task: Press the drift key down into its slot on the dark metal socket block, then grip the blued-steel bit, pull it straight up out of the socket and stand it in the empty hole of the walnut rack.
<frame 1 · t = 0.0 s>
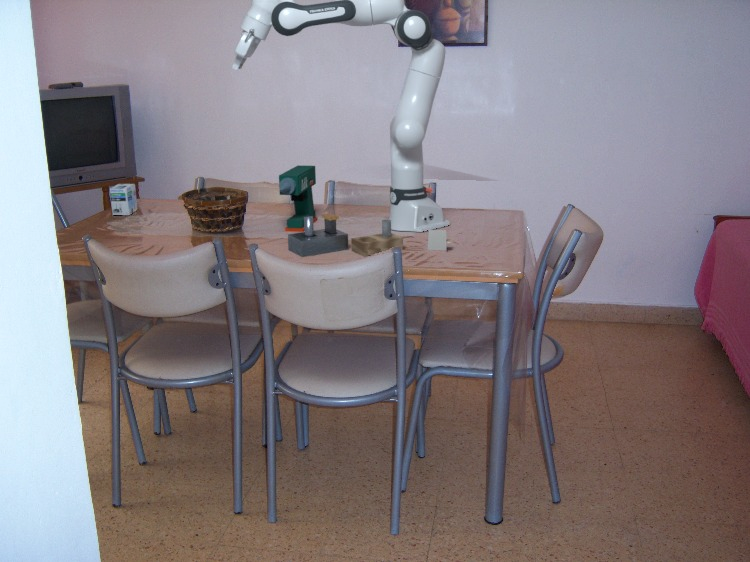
hand: (236, 68, 256), 54 cm above the table, tool tilted 30°, fingers open, 8 cm apart
bit: (309, 251, 245), resting in socket block
light bulb box: (125, 214, 302), on the table
pale grey square block: (437, 253, 244), on the table
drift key: (330, 227, 247), point 7 cm above the table, slide at 0.0 cm
socket block: (318, 249, 247), on the table
rack: (377, 250, 245), on the table
power tool: (297, 230, 273), on the table
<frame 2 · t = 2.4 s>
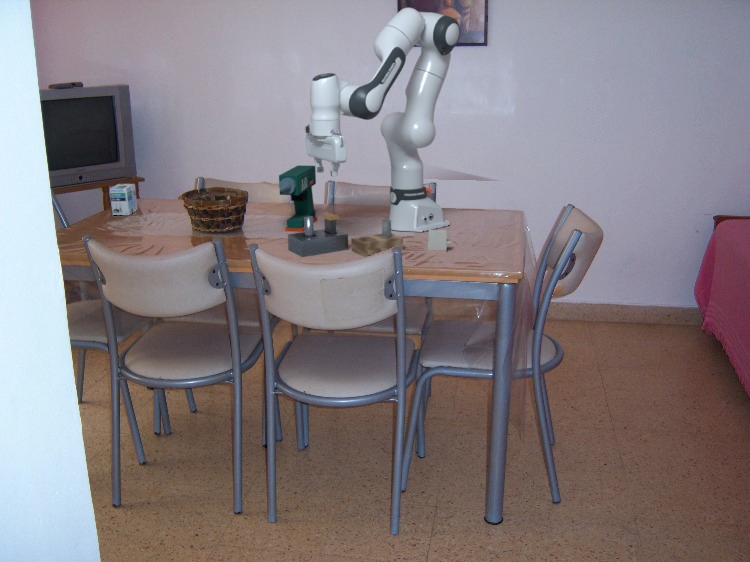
hand: (327, 174, 242), 23 cm above the table, tool pointing down, fingers open, 8 cm apart
nothing on the table moved.
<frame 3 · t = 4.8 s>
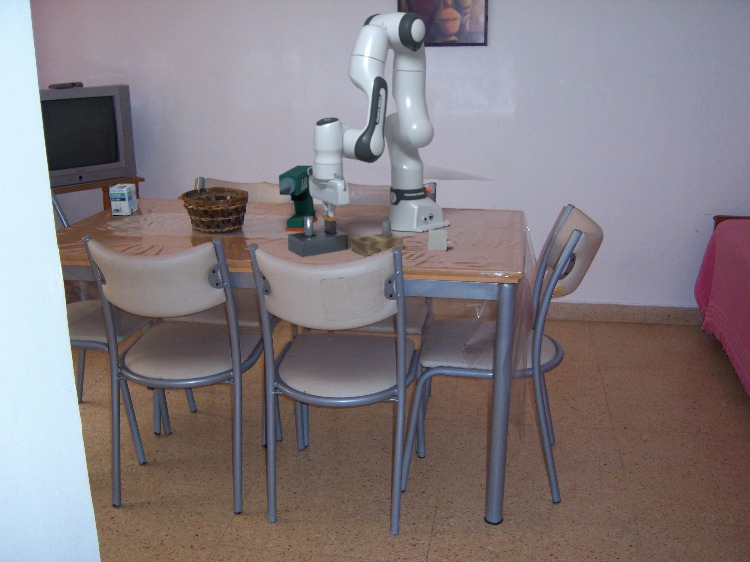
hand: (329, 215, 246), 10 cm above the table, tool pointing down, fingers closed, pressing on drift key
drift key: (330, 228, 247), point 6 cm above the table, slide at 0.2 cm, touching gripper
everything else where it was.
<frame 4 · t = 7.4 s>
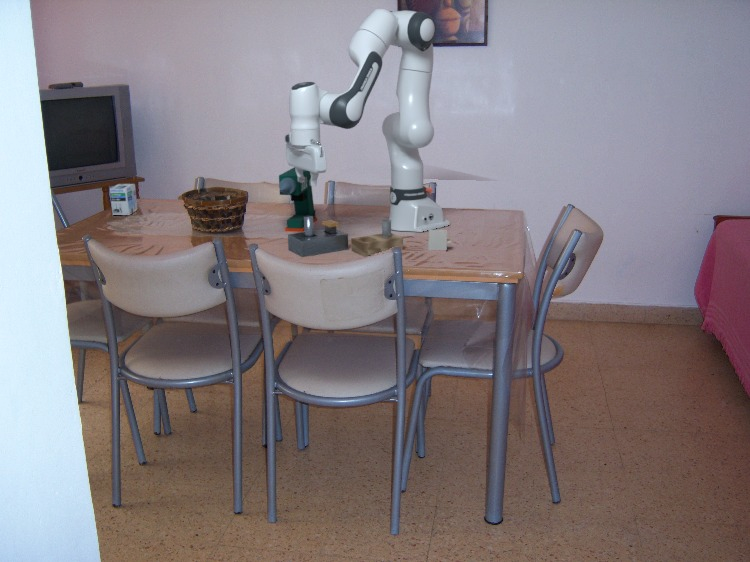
hand: (307, 184, 239), 21 cm above the table, tool pointing down, fingers open, 7 cm apart
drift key: (330, 234, 248), point 4 cm above the table, slide at 2.2 cm
everything else where it was.
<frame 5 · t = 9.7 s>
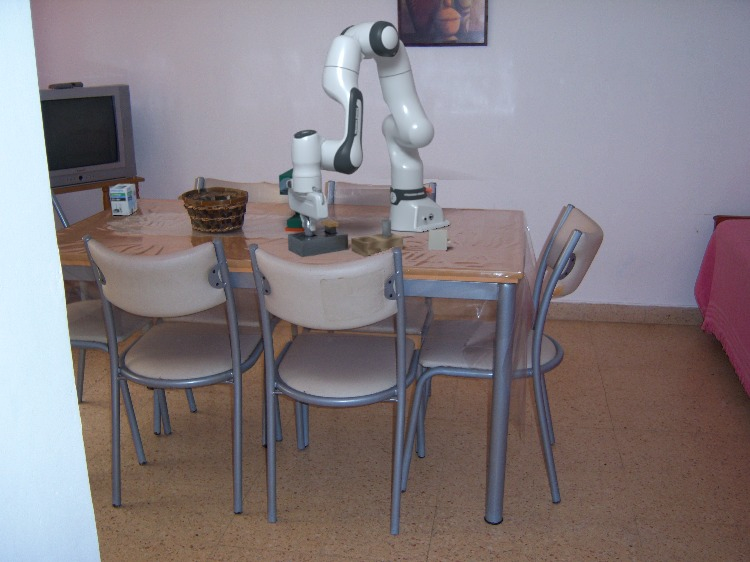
hand: (309, 228, 243), 7 cm above the table, tool pointing down, fingers closed on bit, 3 cm apart
bit: (309, 251, 245), resting in socket block, touching gripper
everything else where it was.
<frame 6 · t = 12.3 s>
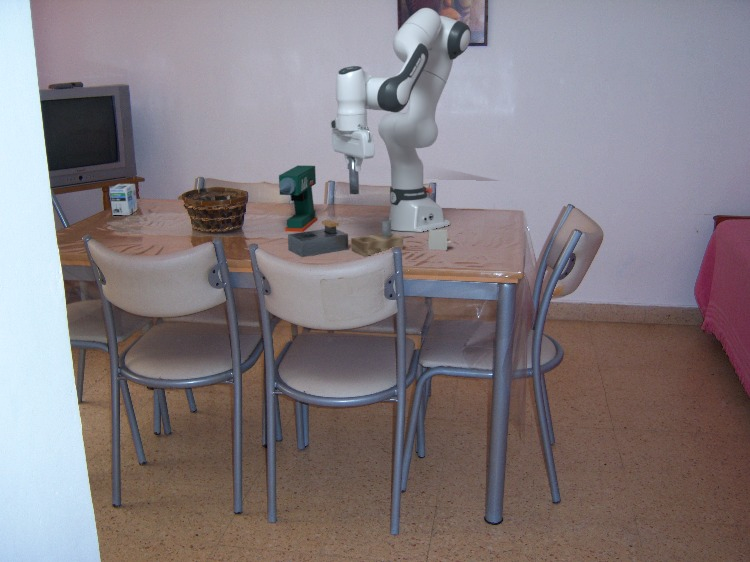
hand: (354, 170, 236), 25 cm above the table, tool pointing down, fingers closed on bit, 3 cm apart
bit: (354, 193, 239), point 18 cm above the table, touching gripper
everything else where it was.
when the fingers open (9 cm above the table, at t = 15.0 s): bit drops 2 cm, resting in rack.
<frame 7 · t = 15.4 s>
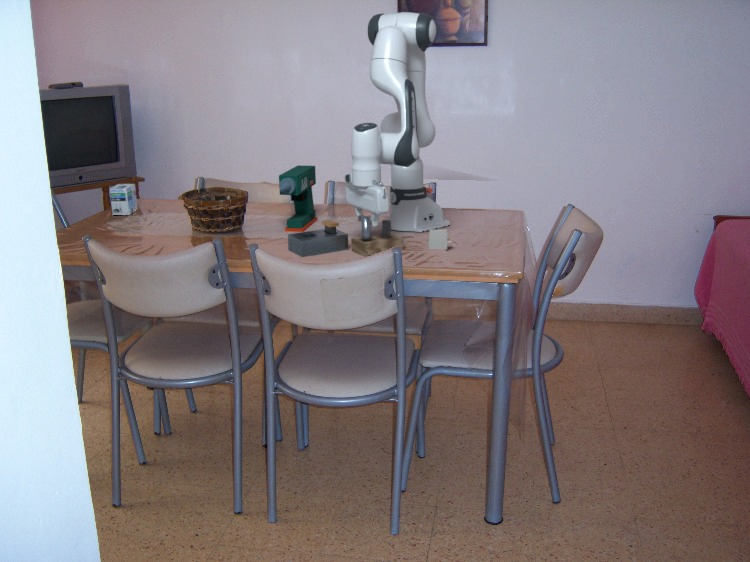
hand: (367, 223, 241), 9 cm above the table, tool pointing down, fingers open, 7 cm apart
bit: (367, 251, 243), resting in rack
everything else where it was.
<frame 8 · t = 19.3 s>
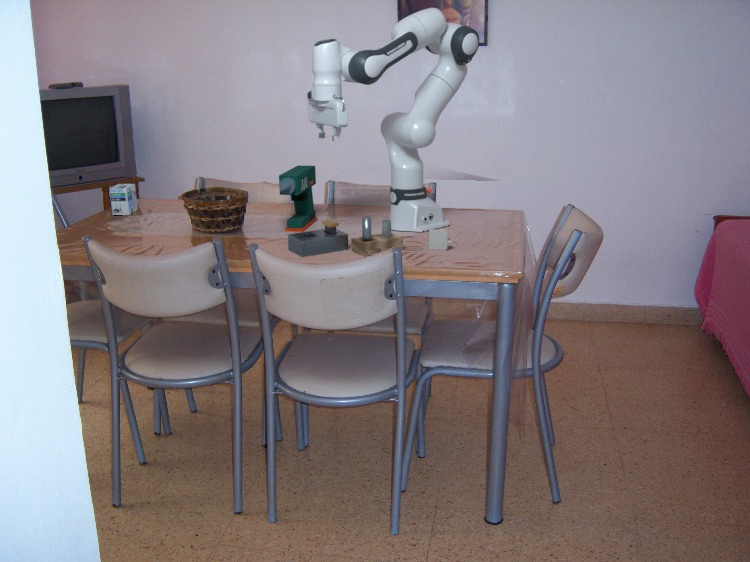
hand: (328, 139, 246), 33 cm above the table, tool pointing down, fingers open, 8 cm apart
nothing on the table moved.
at the end: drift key slide at 2.2 cm; bit 0.1 cm from the target spot on the rack, point 0.0 cm above the rack's base; bit tilted 0° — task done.
